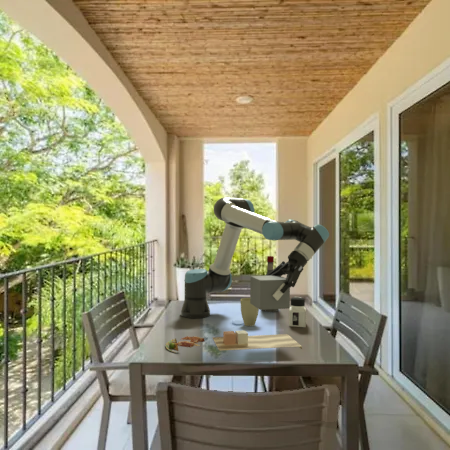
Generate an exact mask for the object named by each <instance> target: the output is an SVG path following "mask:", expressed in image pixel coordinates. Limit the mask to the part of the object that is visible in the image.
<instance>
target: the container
mask: <svg viewBox="0 0 450 450" xmlns="http://www.w3.org/2000/svg"><path fill="white" fill-rule="evenodd" d="M305 300H306V299H305V298H303V297H300V296H293V297H290V308H288V309H289V310H288V311H289V312H288V327H295V328H296V327H297V328H307V327H306V325H307V316H306V315H307V308H306V305H305V303H306V301H305Z"/></svg>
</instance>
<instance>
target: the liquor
mask: <svg viewBox="0 0 450 450" xmlns="http://www.w3.org/2000/svg"><path fill="white" fill-rule="evenodd" d="M274 257H275V256H274V255H268V256H266V259H267V260H266V261H267V266H266V267H267V271H266V274H265V275H264V276H266V275H267V274H268V273H270V272H271V271H272V270H273V269H274V261H275V259H274ZM260 311H262V312H265V313H277V312H278V311H279V309H268V310H260Z"/></svg>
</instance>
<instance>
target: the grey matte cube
mask: <svg viewBox="0 0 450 450" xmlns="http://www.w3.org/2000/svg"><path fill="white" fill-rule="evenodd" d="M284 281H286V277H284V276H265V275H250V284H249V285H250V287H249V289H250V290H249V291H250V292H249V293H250V295H249V296H250V297H249V298H250V303H251V304H252V305H253V306H255V307H256V308H258V309H259V311H261V310H268V309H278V310H285V309H286V310H288V309H290V307H291V295H290V294H291V292H290V291H291V287H290V288H288V289H287V290H286V292H285V293H284V294H283V295H282V296H281V297H280V299H279V300H278V301H277V300H276V299H275V298H274V297H273V296H272V295H273V294H274V293H275V292H276V291H277V290H278V288H279V287H280V286H281V285H282V284H283V283H284ZM284 284H285V283H284Z"/></svg>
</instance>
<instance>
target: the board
mask: <svg viewBox="0 0 450 450" xmlns="http://www.w3.org/2000/svg"><path fill="white" fill-rule="evenodd" d="M212 340H213V341H214V343H215V345H216V347H217V349H218V351H220V352H221V351H236V350H237V351H238V350H239V351H241V350H256V349H257V350H259V349H260V350H261V349H275V348H277V349H278V348H296V347H297V348H299V349H300V350H303V346H302V345H301V344H300V343H299V342H298V341H296V340H295V339H294V338H293V337H292V336H290V335H289V334H288V333H283V334H282V333H281V334H261V335H260V334H259V335H248V344H237V343H236V342H235V344H232V345H225V344H224V342H223V336H216V337H212Z"/></svg>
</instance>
